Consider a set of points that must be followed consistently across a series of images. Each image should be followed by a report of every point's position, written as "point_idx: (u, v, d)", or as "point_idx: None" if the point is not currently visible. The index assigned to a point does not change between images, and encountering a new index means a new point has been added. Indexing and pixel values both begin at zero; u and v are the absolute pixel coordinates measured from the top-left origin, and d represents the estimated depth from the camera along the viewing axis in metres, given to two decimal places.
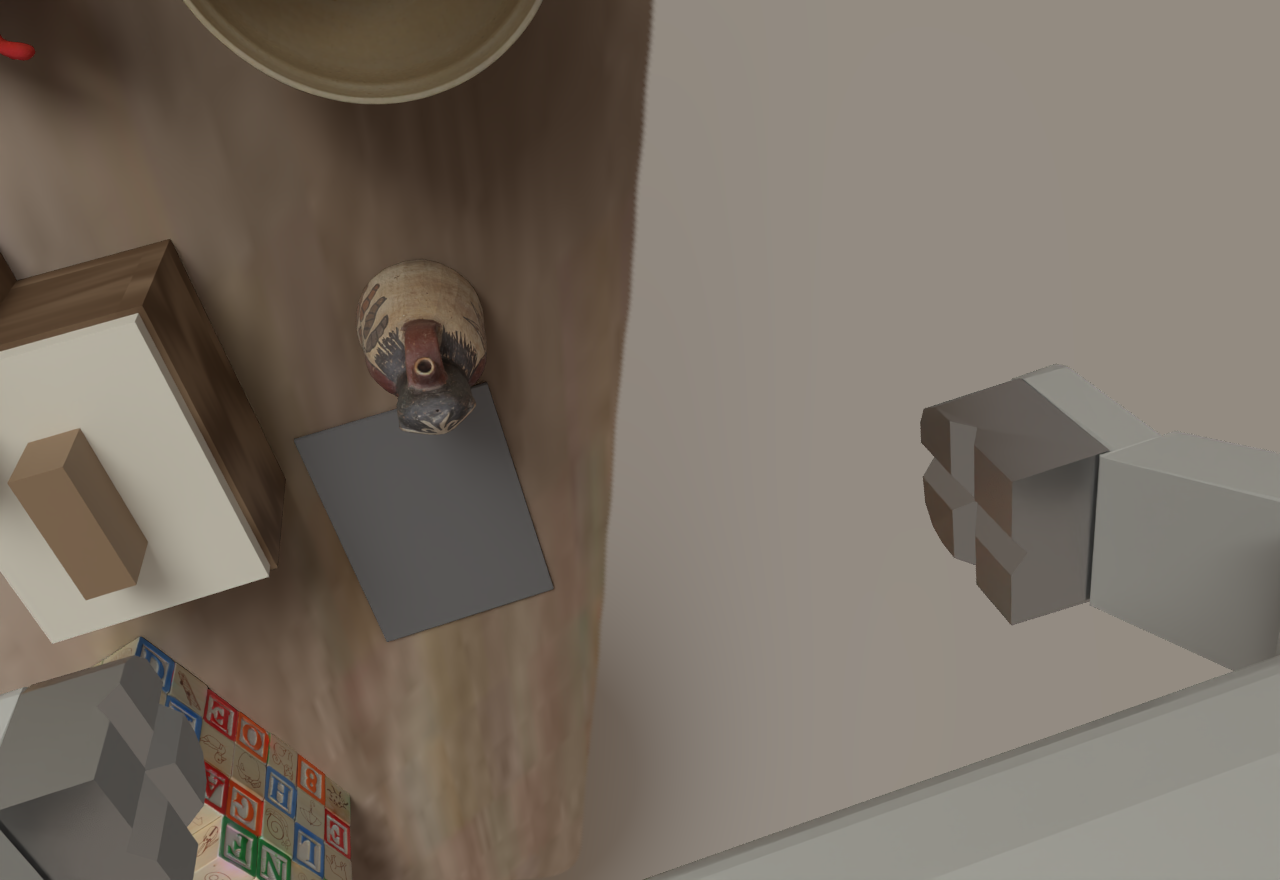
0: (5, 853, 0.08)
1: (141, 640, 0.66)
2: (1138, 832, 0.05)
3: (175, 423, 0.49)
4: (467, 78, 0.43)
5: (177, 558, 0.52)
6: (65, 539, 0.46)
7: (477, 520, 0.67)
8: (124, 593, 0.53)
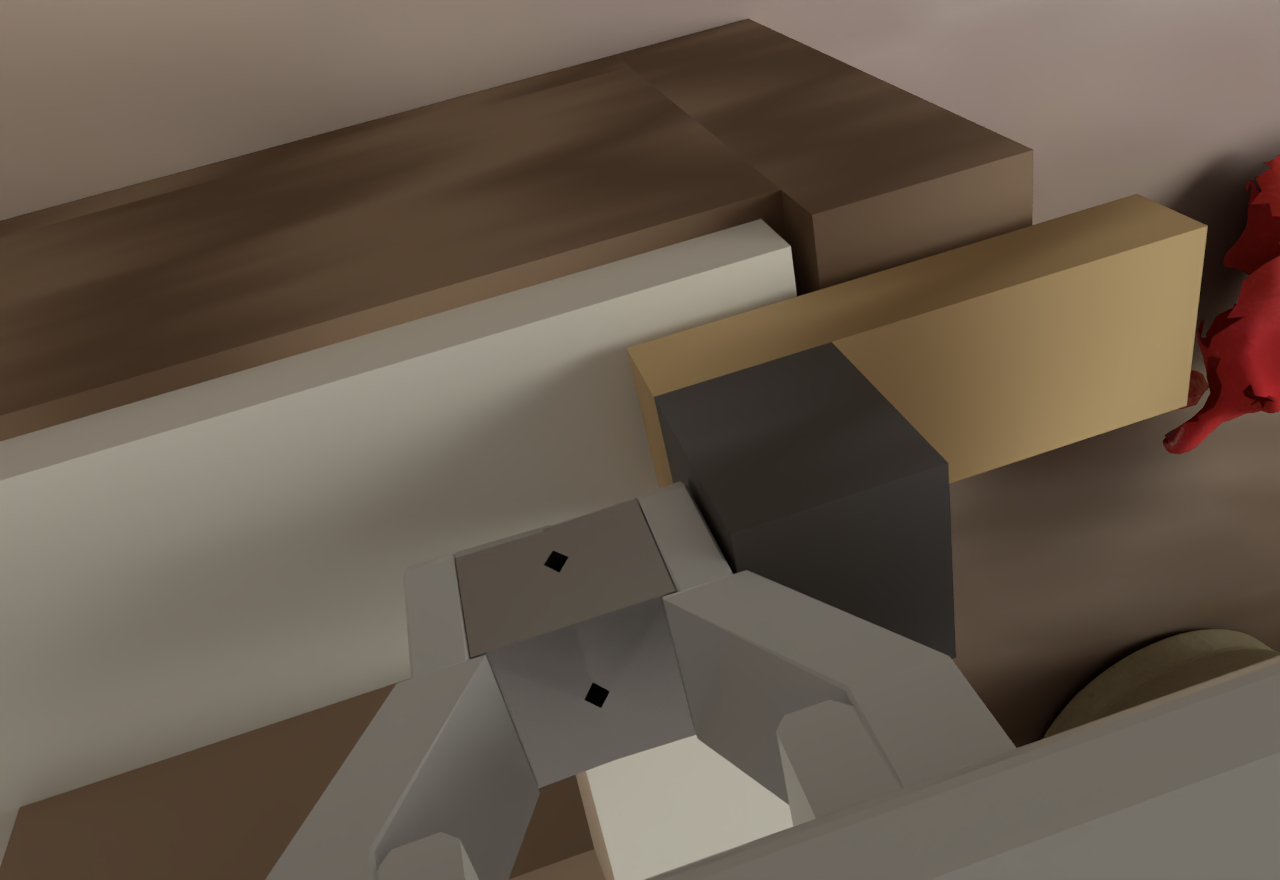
0: (496, 692, 0.09)
1: None
2: (1138, 832, 0.05)
3: None
4: None
5: None
6: None
7: None
8: None
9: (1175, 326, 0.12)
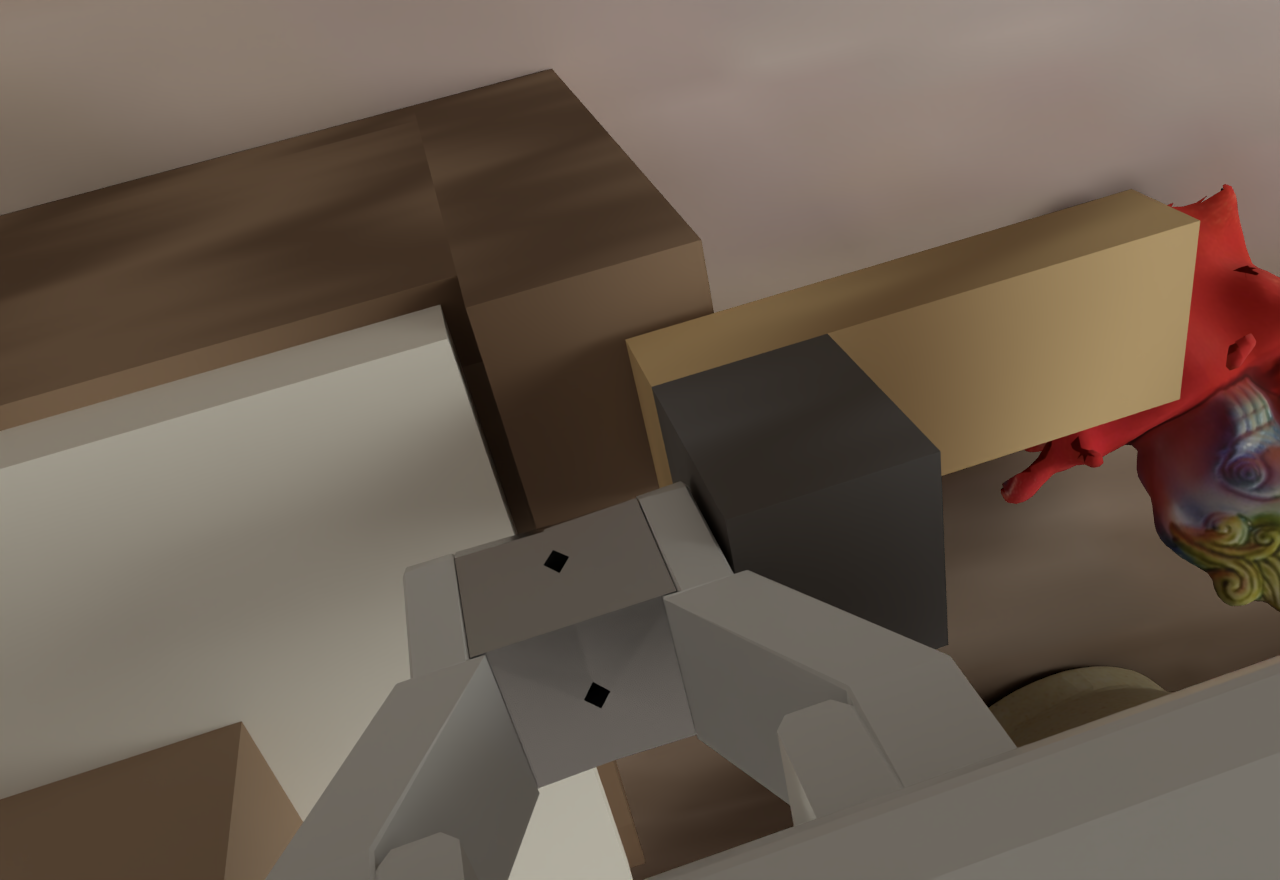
0: (495, 692, 0.09)
1: None
2: (1138, 832, 0.05)
3: None
4: None
5: None
6: None
7: None
8: None
9: (1168, 320, 0.12)
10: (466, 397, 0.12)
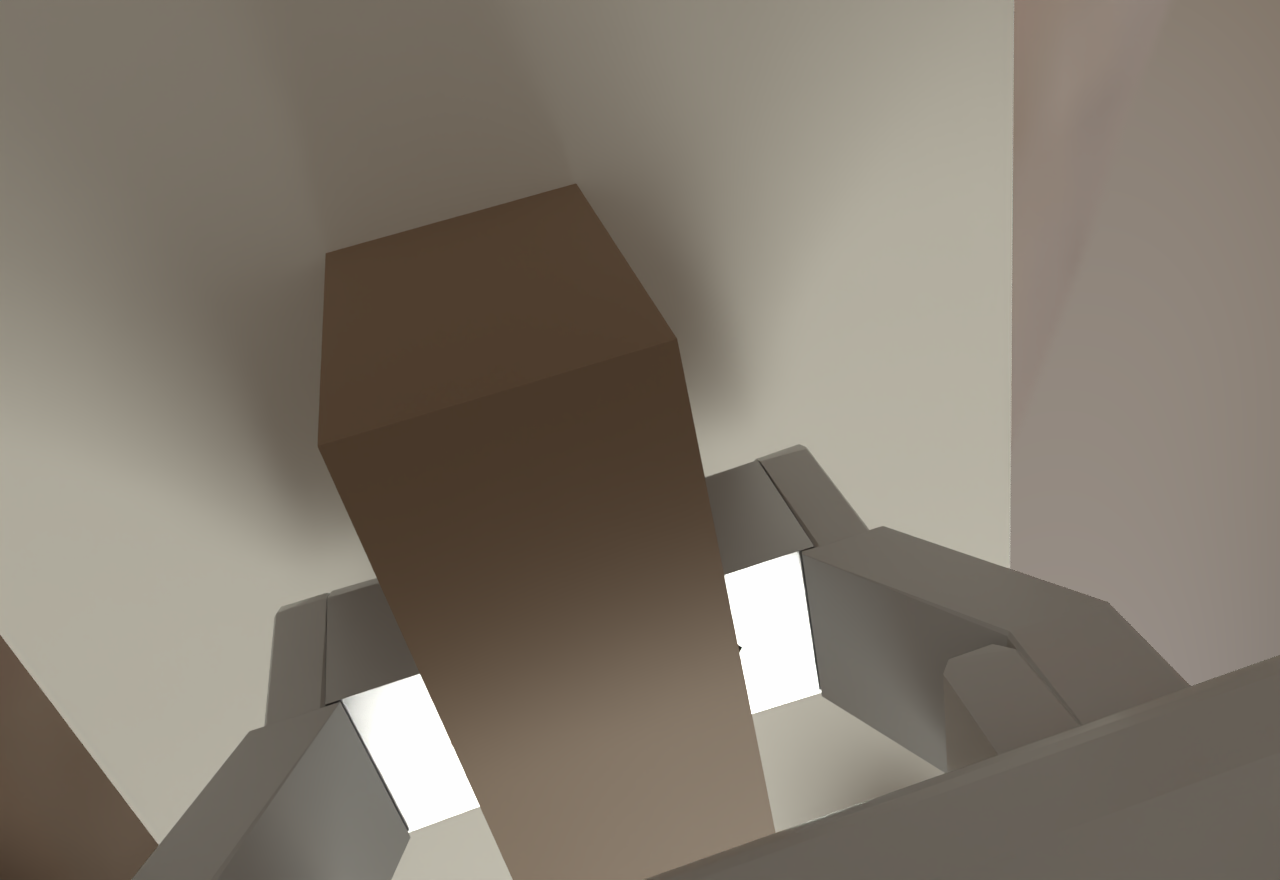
0: (353, 739, 0.08)
1: None
2: (1139, 832, 0.05)
3: (176, 793, 0.12)
4: None
5: (163, 123, 0.08)
6: (660, 731, 0.09)
7: None
8: None
9: None
10: None
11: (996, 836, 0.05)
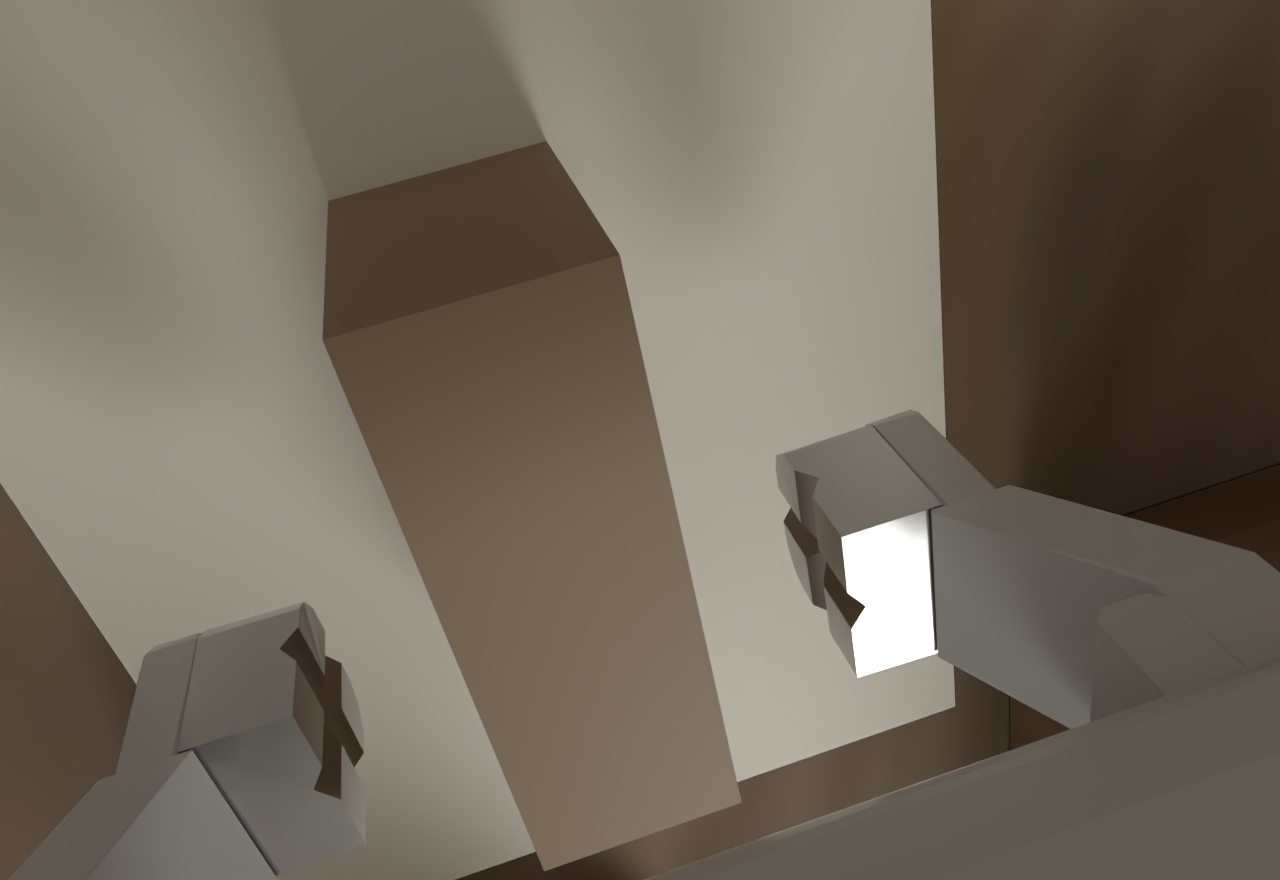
0: (206, 787, 0.08)
1: None
2: (1138, 832, 0.05)
3: None
4: None
5: (188, 84, 0.10)
6: (615, 606, 0.10)
7: None
8: None
9: None
10: None
11: (996, 836, 0.05)
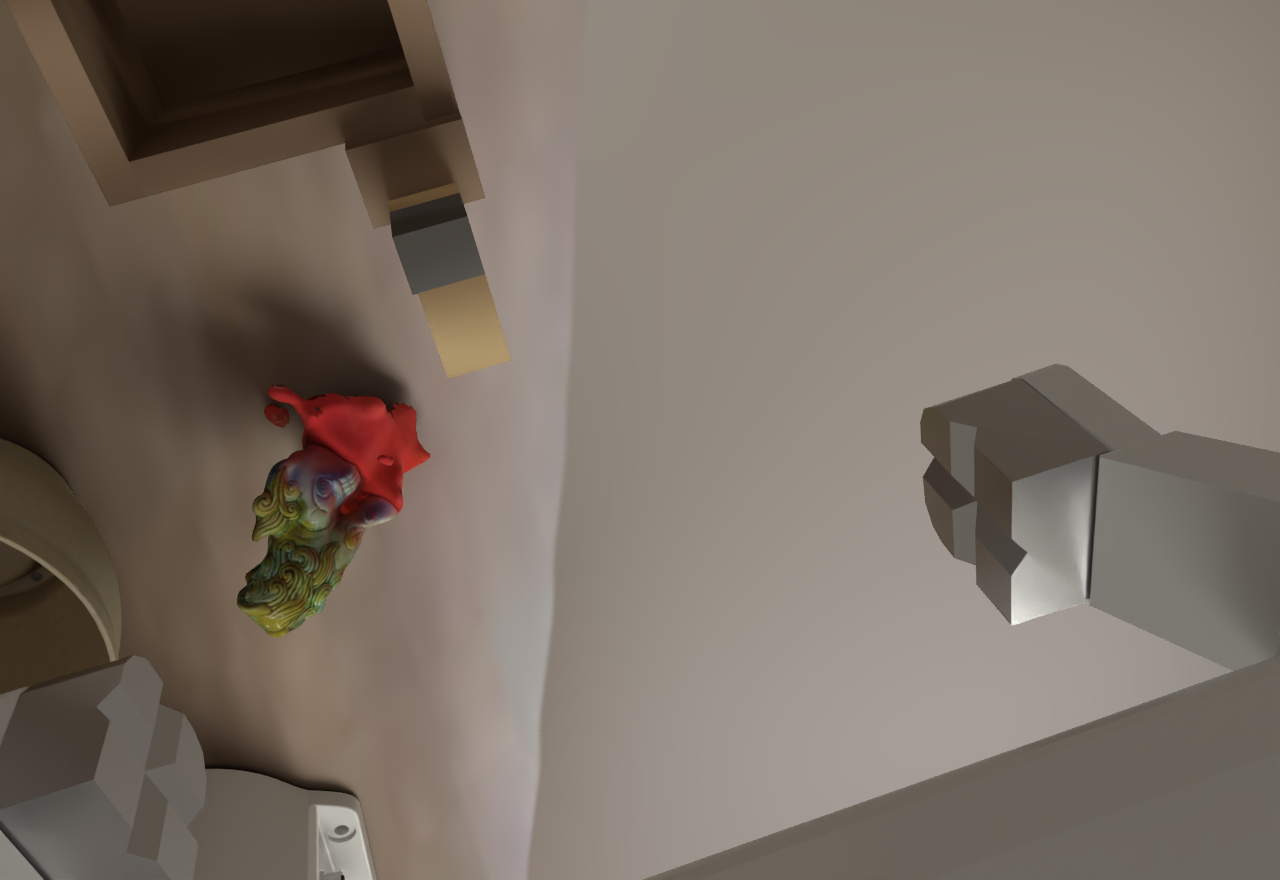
0: (5, 853, 0.08)
1: None
2: (1138, 832, 0.05)
3: None
4: None
5: None
6: None
7: None
8: None
9: (477, 362, 0.37)
10: None
11: (995, 836, 0.05)
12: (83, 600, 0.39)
